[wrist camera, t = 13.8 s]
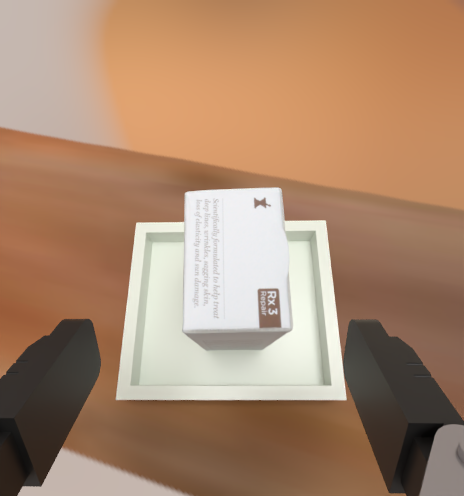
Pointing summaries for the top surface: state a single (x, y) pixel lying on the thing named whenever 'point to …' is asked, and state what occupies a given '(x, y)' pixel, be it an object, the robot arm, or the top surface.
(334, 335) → the tray
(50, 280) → the top surface
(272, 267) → the skincare box
